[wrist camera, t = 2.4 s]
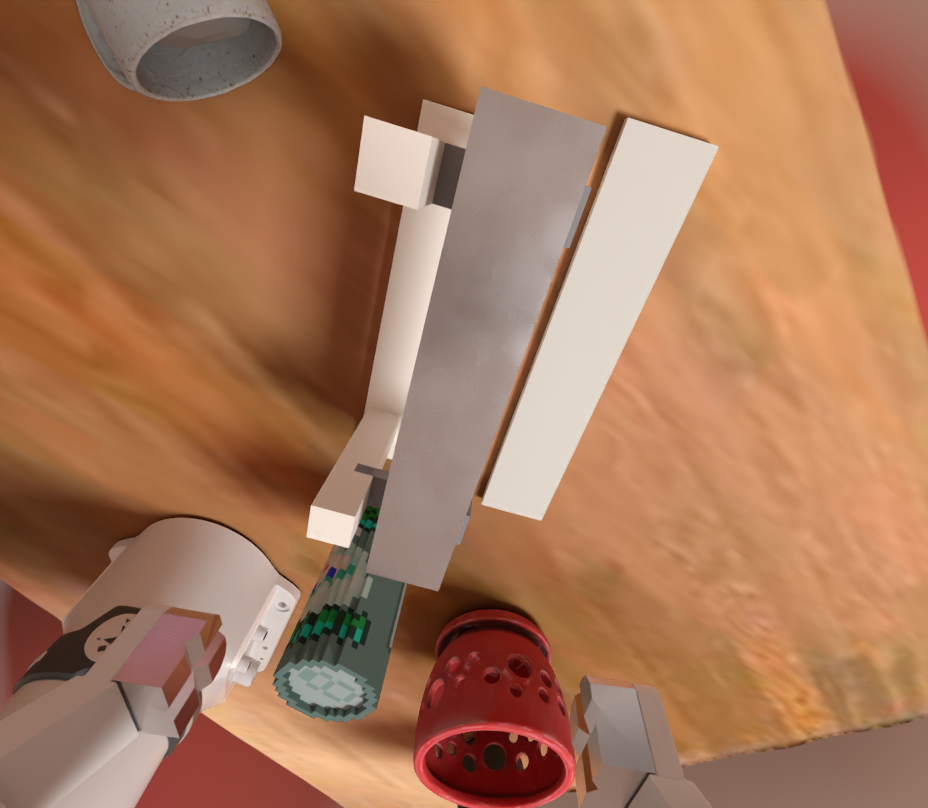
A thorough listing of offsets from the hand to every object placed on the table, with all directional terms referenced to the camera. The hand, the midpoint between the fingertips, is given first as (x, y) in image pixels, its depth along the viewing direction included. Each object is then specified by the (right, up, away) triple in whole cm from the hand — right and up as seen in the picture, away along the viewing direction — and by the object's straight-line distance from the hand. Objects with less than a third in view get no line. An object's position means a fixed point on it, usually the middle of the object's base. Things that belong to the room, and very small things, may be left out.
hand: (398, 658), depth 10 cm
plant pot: (+5, -18, +36) cm, 41 cm away
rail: (+1, +7, +13) cm, 15 cm away
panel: (+9, +9, +21) cm, 25 cm away
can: (-5, -4, +30) cm, 31 cm away
